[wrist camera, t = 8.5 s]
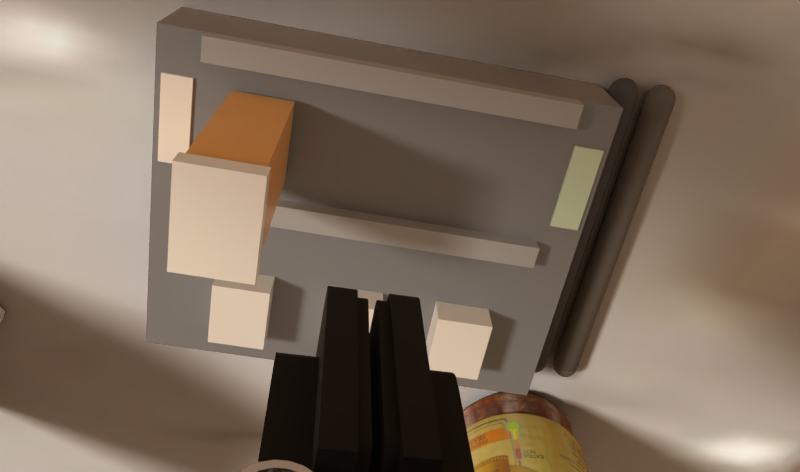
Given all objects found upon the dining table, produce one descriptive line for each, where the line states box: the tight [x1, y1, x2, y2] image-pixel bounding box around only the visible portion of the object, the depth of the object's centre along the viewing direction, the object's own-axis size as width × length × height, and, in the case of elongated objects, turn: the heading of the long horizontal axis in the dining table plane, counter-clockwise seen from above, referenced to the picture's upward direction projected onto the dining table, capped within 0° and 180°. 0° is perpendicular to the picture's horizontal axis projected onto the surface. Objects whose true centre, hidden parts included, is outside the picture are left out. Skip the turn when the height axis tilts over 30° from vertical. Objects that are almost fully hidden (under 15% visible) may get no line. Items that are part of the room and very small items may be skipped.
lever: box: [167, 90, 295, 285], centre depth 20 cm, size 3×2×7 cm
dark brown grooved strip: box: [535, 78, 675, 377], centre depth 28 cm, size 13×2×1 cm, turn 169°
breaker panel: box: [146, 7, 623, 395], centre depth 26 cm, size 12×15×4 cm
